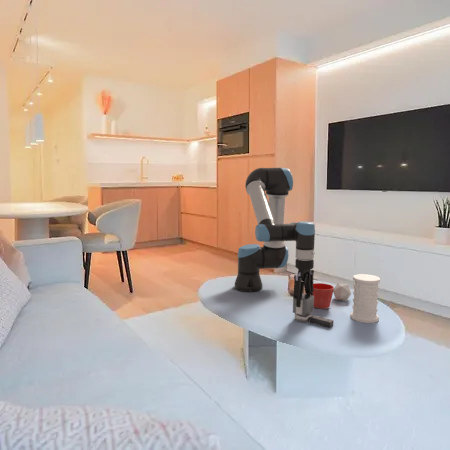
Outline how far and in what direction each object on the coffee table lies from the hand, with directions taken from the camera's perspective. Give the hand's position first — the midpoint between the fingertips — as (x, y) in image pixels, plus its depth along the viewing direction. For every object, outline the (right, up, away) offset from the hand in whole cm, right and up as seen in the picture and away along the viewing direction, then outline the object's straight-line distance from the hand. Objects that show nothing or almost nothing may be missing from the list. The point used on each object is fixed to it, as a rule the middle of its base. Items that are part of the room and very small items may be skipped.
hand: (303, 311), depth 165 cm
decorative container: (+27, -3, +2) cm, 27 cm away
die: (+24, 0, +26) cm, 35 cm away
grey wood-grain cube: (0, 0, 0) cm, 0 cm away
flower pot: (+12, -1, +17) cm, 20 cm away
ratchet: (+4, -4, -2) cm, 6 cm away
